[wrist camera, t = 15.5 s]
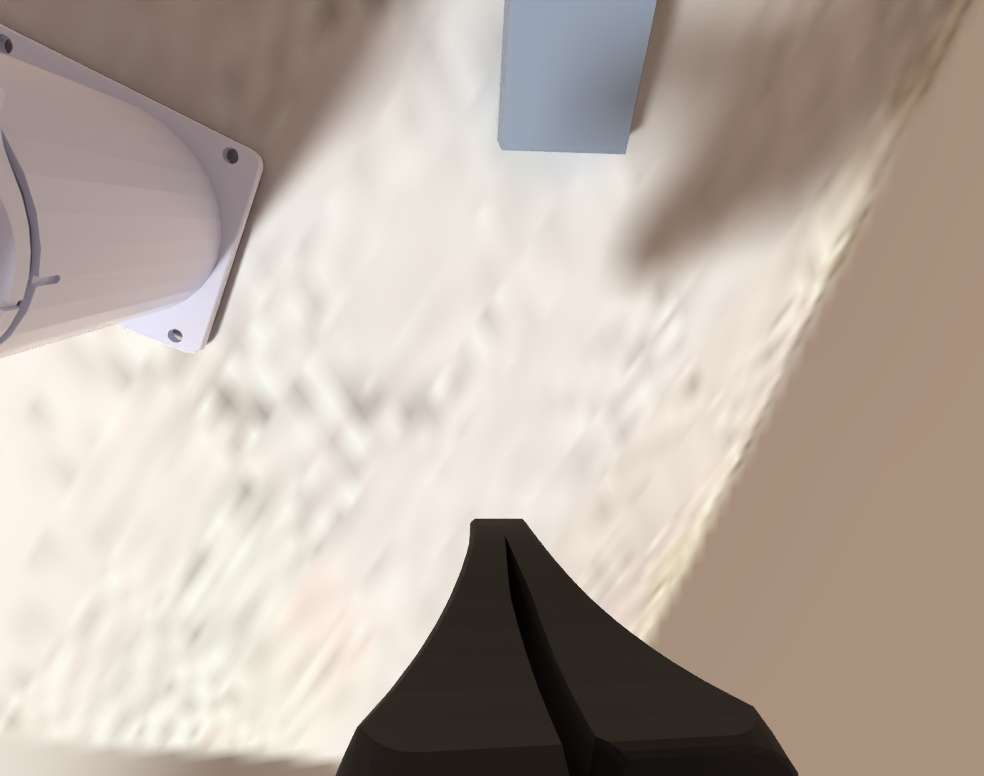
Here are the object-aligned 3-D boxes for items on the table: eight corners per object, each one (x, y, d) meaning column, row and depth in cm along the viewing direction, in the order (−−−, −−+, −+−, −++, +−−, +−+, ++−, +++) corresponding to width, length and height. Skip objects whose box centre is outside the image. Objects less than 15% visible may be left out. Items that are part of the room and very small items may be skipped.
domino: (625, 154, 17) (685, -137, 12) (501, 150, 16) (518, -152, 12) (612, 143, 18) (663, -124, 14) (497, 139, 18) (511, -138, 13)
